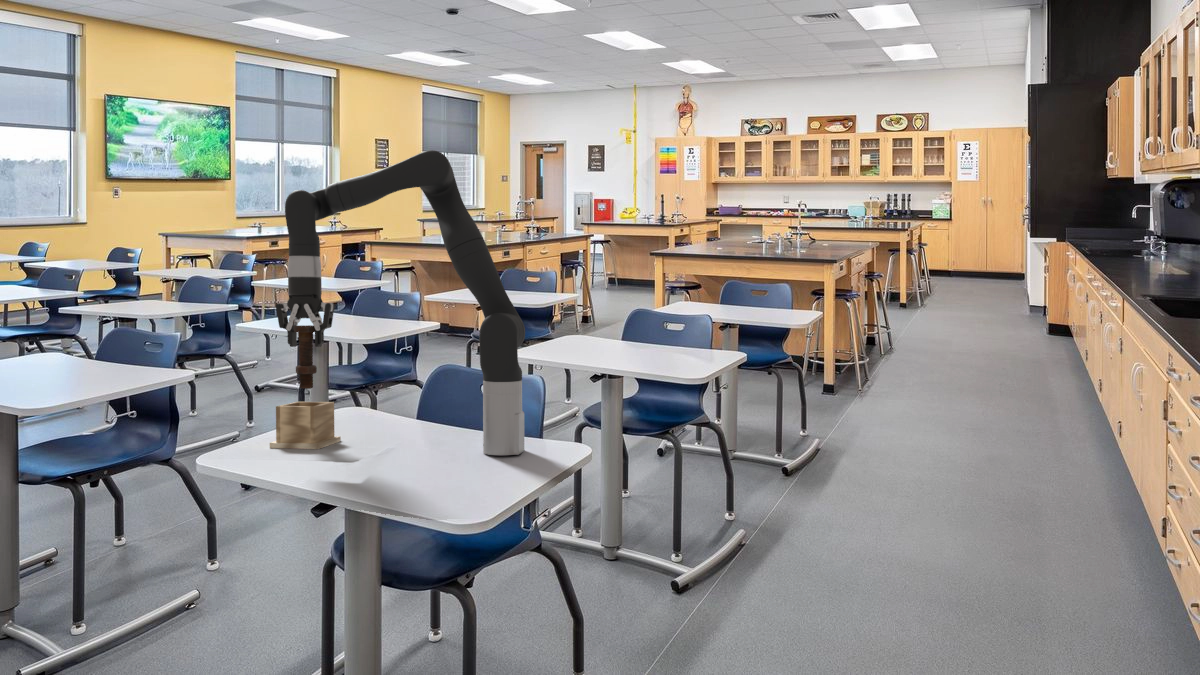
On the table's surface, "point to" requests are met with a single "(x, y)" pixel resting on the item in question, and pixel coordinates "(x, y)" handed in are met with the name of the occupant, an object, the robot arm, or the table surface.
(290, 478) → the table surface
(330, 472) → the table surface
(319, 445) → the socket block
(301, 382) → the bolt
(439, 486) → the table surface
